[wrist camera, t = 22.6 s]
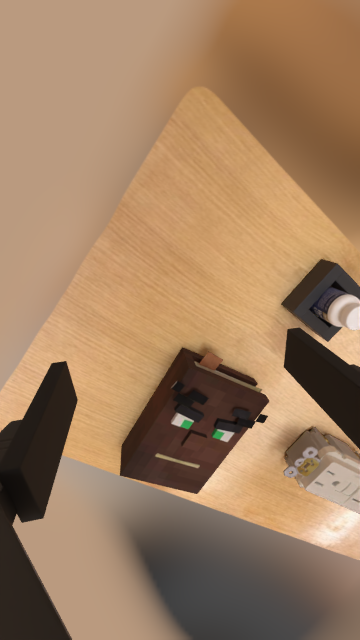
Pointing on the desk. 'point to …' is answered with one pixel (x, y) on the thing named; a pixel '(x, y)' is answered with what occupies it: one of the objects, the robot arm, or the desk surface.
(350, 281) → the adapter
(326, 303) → the pill bottle
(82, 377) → the desk surface
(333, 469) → the electrical outlet
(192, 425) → the decorative book
